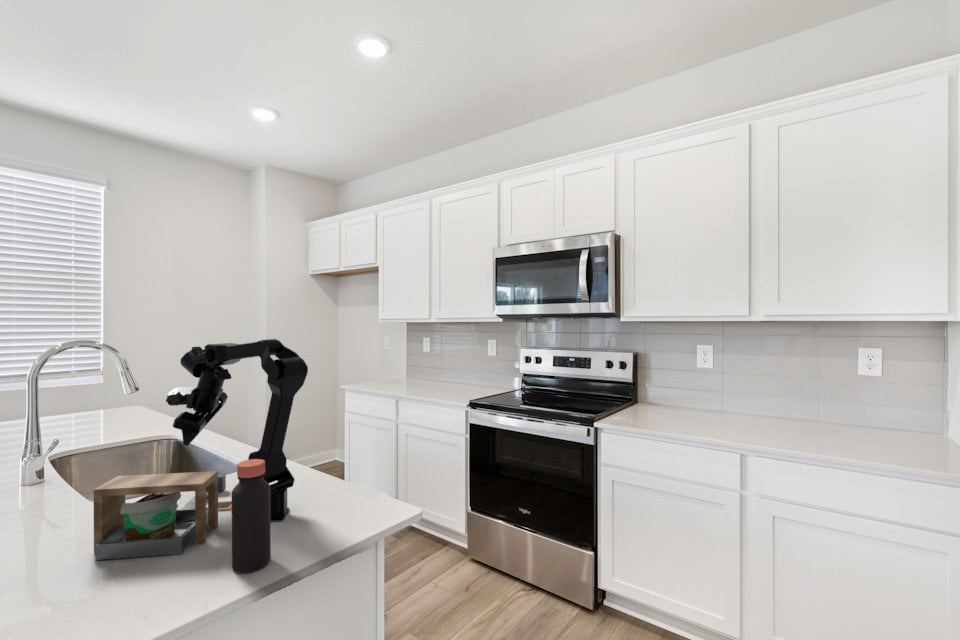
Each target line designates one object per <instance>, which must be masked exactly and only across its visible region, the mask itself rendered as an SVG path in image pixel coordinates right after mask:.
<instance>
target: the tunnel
mask: <svg viewBox="0 0 960 640" xmlns="http://www.w3.org/2000/svg"><path fill="white" fill-rule="evenodd" d="M218 475H219V471H218V470H212V471H190V472H189V471H188V472H173V473H169V472H168V473H156V474H155V473H154V474H136V475H135V474H133V475H117V476H115V477H113V478H112V479H110V480H108V481H106V482H105V483H103V484H101V485H100V486H98V487H97V486H96V488H94V489H93V553H94V554H95V545H96V544H97V543H99V542H100V541H101V540H103V539H104V538H105V537H107V536H108V535H109V534H111V533H112V532H113V531H115V530H116V529H117V528H119V527H120V526H121V525H123V524H124V514H120V512H121V507H122V506H123V503H126V496H131V495H133V496H134V495H150V494H154V493H171V492H180V493H185V492H194V497H195V539H194V541H195V542H194V543H195V544H194V545H195V546H200V545H204V544H205V543H206V542H207V532H211V531H216V530H217V529H218V528H219V511H218V502H219V492H218ZM206 487H208V499H207V500H206ZM206 507H208V525H207V527H208V529H207V527H206ZM207 530H208V531H207Z"/></svg>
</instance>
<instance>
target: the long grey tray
mask: <svg viewBox="0 0 960 640" xmlns="http://www.w3.org/2000/svg"><path fill="white" fill-rule="evenodd" d="M226 477H227V475H226V474H218V493H222V492H224V491H225V490H226V484H227V483H226V482H227V480H226V479H227V478H226ZM206 501H208V487H206ZM186 523H187V524H188V523H192V524H191V525H190V526H189V527H187V529H186V530H184V532H183V533H182V534H181V535H180V536H175V537H173V536H172V537H171V538H159V539H146V540H132V541H126V532H125V523H124V524H123V525H121V526H120V527H119V528H117V529H116V530H115V531H113V532H112V533H111V534H109V535H108V536H107V537H105V538H104V539H103V540H101V541H100V542H99V543H97V544H96V545H95V553H94V555H95V558H94V560H95V561H99V560H101V561H102V560H112V559H125V558H127V559H128V558H139V557H150V556H163V555H165V556H166V555H175V554H176V555H177V554H183V553H184V551H185V550H186V549H187V548H188V547H189V546H190V545H191V544H192V543H193V542H194V541H195V496H194V497H192V498H191V499H190V500H189V501H187V503H186V504H184V505H183V506H182V507H181V508H177V510H176V521H175V524H186ZM207 527H208V506H206V528H207Z"/></svg>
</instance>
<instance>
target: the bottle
mask: <svg viewBox="0 0 960 640" xmlns="http://www.w3.org/2000/svg"><path fill="white" fill-rule="evenodd" d="M236 466H237V467H236V470H237V471H236V477H237V478H236V479H237V480H238V483H237V484H236V485H235V487H233V489H232V491H231V501H232V508H231V568H232V570H233V571H234V572H235V573H239V574H249V573H253V572H258V571H259V570H262V569H263V568H265V567H266V566H267V565H269V564H270V562H271V557H272V556H271V555H272V554H271V553H272V552H271V549H272V547H271V544H272V543H271V534H272V533H271V523H272V521H271V515H270V485H271V484H270V483H268V482H266V481H265V480H264V479H263V476H264V475H265V461H264V460H262V459H251V460H248V459H246V460H243V461H240V462H239V463H237V464H236Z"/></svg>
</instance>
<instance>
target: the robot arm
mask: <svg viewBox="0 0 960 640" xmlns="http://www.w3.org/2000/svg"><path fill="white" fill-rule="evenodd" d="M203 348H204V349H203ZM203 348H202V347H201V346H192V347H191V350H189V351H188V352H186V353H184V355H183V356H182V357H181V358H180V365H181V366H182V367H183V368H184V369H185V370H187V372H188V373H190V374H191V375H192V376H193V377H194V378H198V383H197V386H196V387H193V386H178V387H174V388H172V390H170V391H169V392H168V393H167V395H166V399H165V402H166V403H167V405H169V406H171V407H172V406H185V408H186V409H189V410H190V409H191V410H193V411H194V413H193V412H189V411H184V412H181V413H180V414H178V416H176V417H175V419H174V421H173V423H172V427H173V428H174V429H177V430H181V435H182V443H183V446H185V447H188V446H189V445H190V444H191V443H192V442H193V441H194V440H195V438H196V437H197V436H198V435H199V434H200V433H201V432H202V431H203V429H204V428H205V427H206V426H207V425H208V424H209V422H210V421H211V420H212V419H213V418H214V417H215V416H216V415H217V414H218V413H219V411H220V410H221V409H222V408H223V406H224V405H225V404H226V403H227V400H228V397H229V395H227V392H224V388H223V386H224V382H225V380H231V379H232V374H231V373H230V372H229V369H228V368H224V367H223V366H229V365H234V364H236V363H239V362H240V361H241V360H242V359H250V358H258V357H259V358H260V364H261V365H260V366H261V369H262V370H263V371H264V372H265V373H266V374H267V385H268V387H269V389H270V392H271V396H270V401H269V406H268V411H267V415H266V420H265V425H264V430H263V434H262V438H261V439H262V440H261V444H260V448H259V449H258V450H255V451H252V452H250V453H249V455H248V459H247V460H251V459H262V460H264V461H265V475H264V476H263V479H264V480H265V481H266V482H268V483H269V485H270V515H271V522H278V521H279V522H280V521H283V520H285V518H286V517H287V515H288V512H289V511H290V507H288V489H289V488H292V487H293V486H294V483H295V477H294V476H293V474H292V472H291V471H290V470H289V467H287V462H288V461H287V457H286V454H285V453H284V452H285V451H284V443H285V439H286V435H287V430H288V425H289V420H290V416H291V412H292V407H293V403H294V398H295V395H296V394H297V393H298V392H299V391H300V390H301V388H302V387H303V386H304V385H305V382H306V379H307V375H308V372H309V367H308V366H309V365H307V363H306V360H304V359H303V358H302V357H301V356H300V355H299V354H298V352H296V351H294V350H293V349H290V348H288V347H287V346H285V345H284V344H283V343H282V342H281V341H280V340H279V339H276V338H272V339H271V338H269V339H268V338H267V339H260V340H258V341H251V342H244V343H233V342H226V343H207V344H206V345H205V346H204V347H203ZM271 356H275V357H276V358H277V359H273V358H272V357H271ZM271 483H272V484H271Z"/></svg>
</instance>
